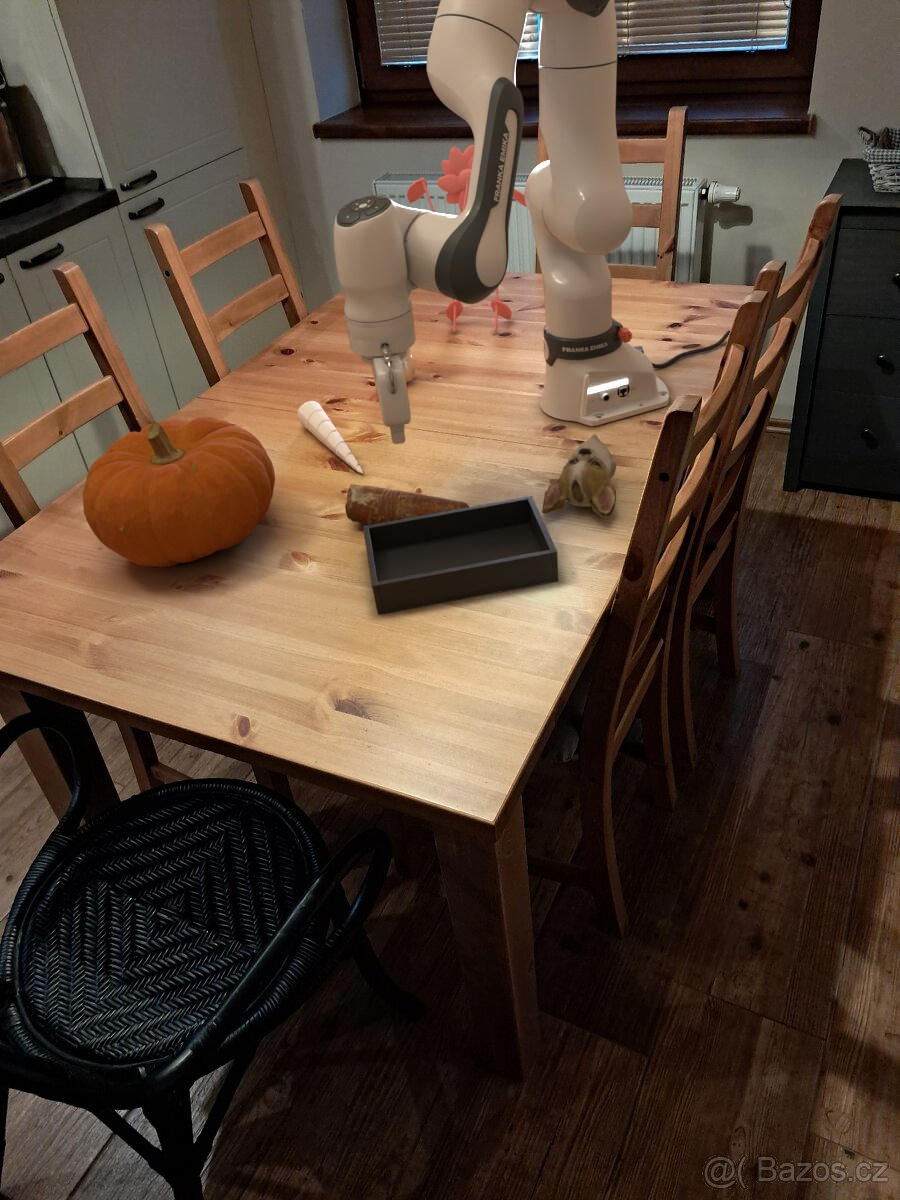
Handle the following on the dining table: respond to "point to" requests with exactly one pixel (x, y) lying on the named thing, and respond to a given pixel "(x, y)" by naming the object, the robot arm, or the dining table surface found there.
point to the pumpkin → (178, 491)
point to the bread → (392, 504)
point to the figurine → (457, 190)
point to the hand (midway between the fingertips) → (395, 426)
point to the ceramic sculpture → (585, 480)
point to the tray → (459, 554)
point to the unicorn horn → (326, 432)
